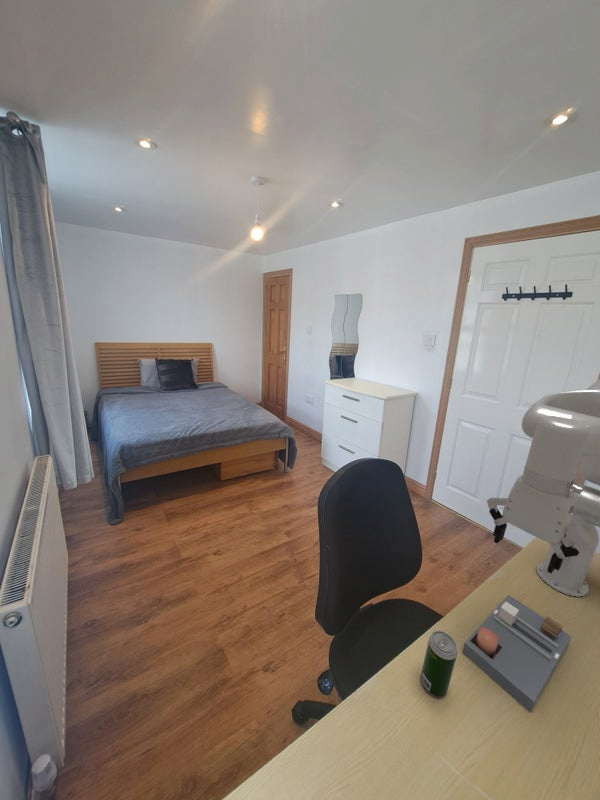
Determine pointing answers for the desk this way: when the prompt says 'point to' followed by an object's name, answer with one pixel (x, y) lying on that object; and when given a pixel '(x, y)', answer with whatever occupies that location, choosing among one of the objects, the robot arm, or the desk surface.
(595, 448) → the robot arm
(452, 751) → the desk surface
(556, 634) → the rocker
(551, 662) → the console
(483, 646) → the push button
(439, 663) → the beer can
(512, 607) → the slider knob
